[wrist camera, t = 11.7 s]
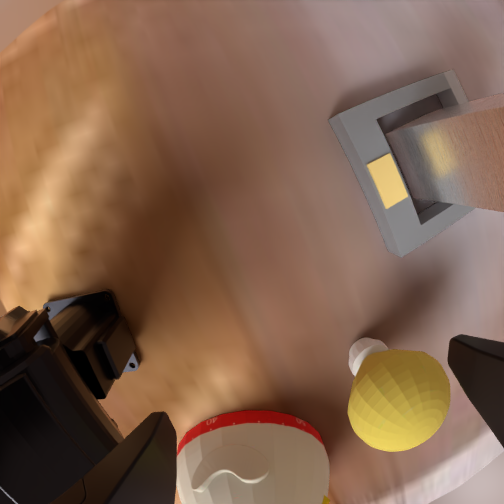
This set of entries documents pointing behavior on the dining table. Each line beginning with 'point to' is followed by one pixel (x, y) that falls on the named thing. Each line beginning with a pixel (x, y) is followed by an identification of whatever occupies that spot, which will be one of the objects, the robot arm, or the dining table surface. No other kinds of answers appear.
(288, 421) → the kitchen timer
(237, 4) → the dining table surface
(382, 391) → the light bulb
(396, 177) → the plate
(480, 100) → the rectangular block post
